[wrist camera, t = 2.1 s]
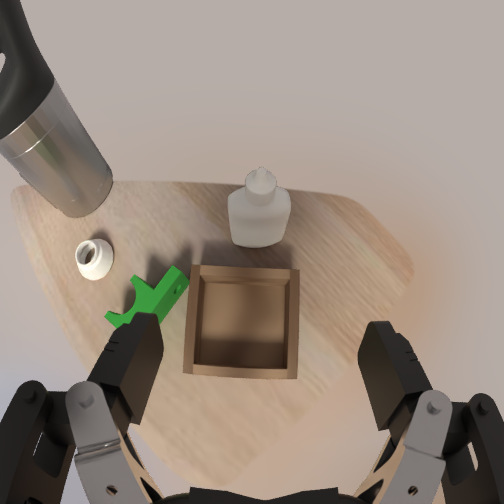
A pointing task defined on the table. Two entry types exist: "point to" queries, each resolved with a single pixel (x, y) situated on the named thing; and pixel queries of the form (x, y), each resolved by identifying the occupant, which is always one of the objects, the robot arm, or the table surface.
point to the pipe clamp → (153, 297)
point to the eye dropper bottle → (258, 211)
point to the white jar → (94, 259)
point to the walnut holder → (242, 322)
